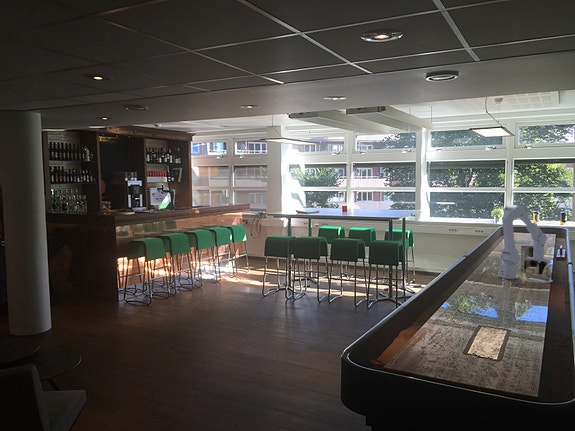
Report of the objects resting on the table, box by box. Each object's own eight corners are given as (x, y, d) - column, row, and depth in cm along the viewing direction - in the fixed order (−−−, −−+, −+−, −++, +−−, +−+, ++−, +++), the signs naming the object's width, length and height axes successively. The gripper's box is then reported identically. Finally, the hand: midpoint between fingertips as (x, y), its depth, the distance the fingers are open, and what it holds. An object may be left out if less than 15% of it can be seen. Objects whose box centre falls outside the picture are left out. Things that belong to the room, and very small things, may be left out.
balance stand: (543, 283, 261) (543, 277, 261) (527, 279, 270) (528, 274, 270) (552, 281, 265) (552, 276, 264) (536, 278, 274) (536, 273, 273)
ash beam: (531, 278, 275) (531, 268, 275) (525, 277, 279) (526, 267, 278) (548, 276, 282) (549, 266, 282) (543, 275, 285) (543, 265, 285)
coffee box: (533, 269, 302) (535, 245, 301) (538, 271, 296) (539, 247, 295) (519, 269, 303) (520, 245, 302) (523, 271, 297) (524, 246, 296)
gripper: (554, 252, 275) (553, 274, 276) (532, 249, 288) (531, 270, 289) (546, 253, 271) (545, 275, 272) (524, 250, 284) (523, 271, 285)
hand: (537, 273), depth 280 cm, fingers closed on ash beam, 4 cm apart
